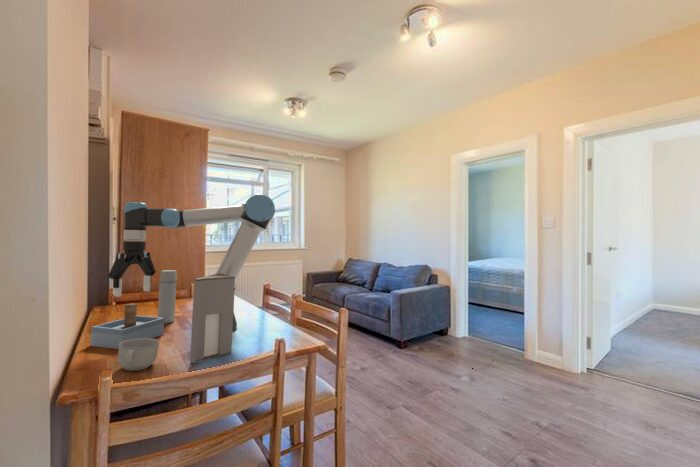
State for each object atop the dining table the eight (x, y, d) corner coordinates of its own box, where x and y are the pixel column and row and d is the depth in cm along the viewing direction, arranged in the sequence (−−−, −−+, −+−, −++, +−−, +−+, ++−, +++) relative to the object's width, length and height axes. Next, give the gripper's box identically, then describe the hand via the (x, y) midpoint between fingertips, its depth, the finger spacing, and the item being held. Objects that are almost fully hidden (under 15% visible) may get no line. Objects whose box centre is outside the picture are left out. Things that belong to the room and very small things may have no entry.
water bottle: (169, 324, 153) (172, 271, 154) (153, 323, 153) (156, 271, 154) (180, 319, 162) (182, 270, 163) (164, 319, 162) (167, 269, 163)
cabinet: (215, 344, 127) (219, 273, 127) (240, 345, 127) (243, 274, 127) (189, 364, 106) (194, 279, 107) (219, 365, 106) (223, 280, 107)
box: (163, 334, 137) (164, 317, 137) (122, 349, 117) (123, 330, 118) (135, 331, 140) (136, 315, 140) (90, 345, 120) (91, 326, 120)
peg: (137, 338, 130) (139, 303, 131) (129, 341, 126) (131, 305, 127) (129, 337, 131) (131, 303, 131) (120, 340, 127) (122, 305, 127)
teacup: (130, 360, 107) (131, 336, 107) (164, 361, 108) (165, 337, 108) (101, 378, 93) (103, 350, 93) (140, 378, 94) (142, 351, 94)
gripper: (151, 240, 143) (149, 288, 142) (97, 240, 118) (95, 298, 118) (165, 241, 141) (164, 289, 141) (114, 240, 117) (112, 299, 116)
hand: (132, 293), depth 129 cm, fingers open, 13 cm apart
